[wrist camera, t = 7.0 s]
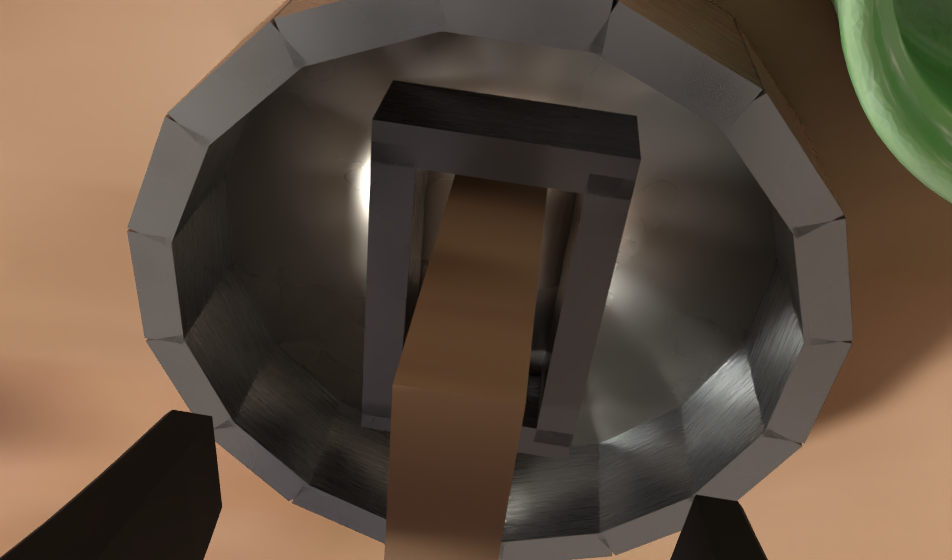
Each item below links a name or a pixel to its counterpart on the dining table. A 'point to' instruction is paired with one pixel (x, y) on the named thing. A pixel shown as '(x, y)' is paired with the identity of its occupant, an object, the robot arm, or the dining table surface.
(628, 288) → the grey metal bowl
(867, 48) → the ramekin
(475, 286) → the tan wooden block
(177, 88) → the dining table surface
